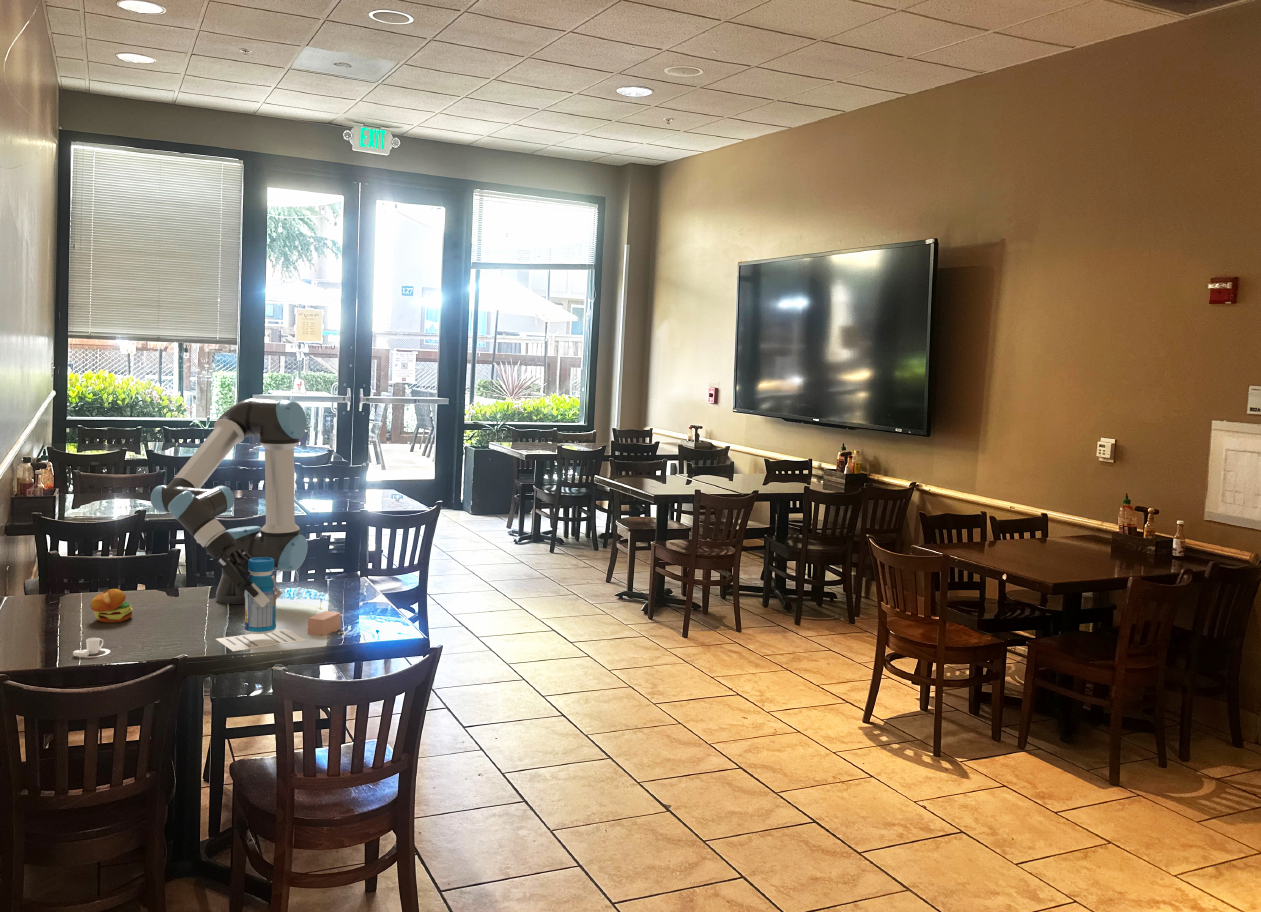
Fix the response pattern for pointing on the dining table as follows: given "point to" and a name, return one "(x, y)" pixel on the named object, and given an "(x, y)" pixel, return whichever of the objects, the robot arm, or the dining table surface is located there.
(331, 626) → the block
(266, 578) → the beverage bottle
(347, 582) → the dining table surface
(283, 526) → the robot arm
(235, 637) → the letter
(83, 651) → the teacup and saucer
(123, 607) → the cheeseburger
